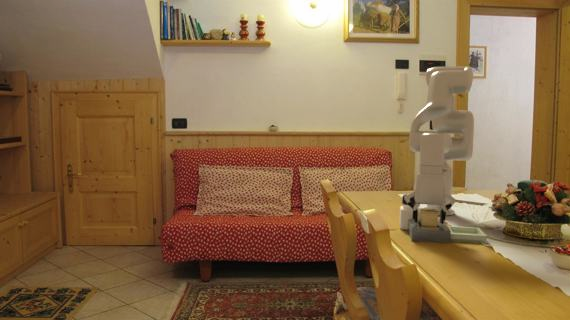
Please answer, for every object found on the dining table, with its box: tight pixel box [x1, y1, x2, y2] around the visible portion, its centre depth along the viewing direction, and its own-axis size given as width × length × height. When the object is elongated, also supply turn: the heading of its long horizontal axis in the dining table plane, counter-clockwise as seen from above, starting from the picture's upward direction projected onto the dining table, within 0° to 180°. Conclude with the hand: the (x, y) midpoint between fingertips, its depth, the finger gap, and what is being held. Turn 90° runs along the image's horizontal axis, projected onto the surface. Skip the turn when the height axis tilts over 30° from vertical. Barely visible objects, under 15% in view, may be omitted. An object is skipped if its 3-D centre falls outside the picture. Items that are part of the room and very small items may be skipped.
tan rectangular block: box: [420, 207, 440, 227], centre depth 159 cm, size 5×5×9 cm
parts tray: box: [447, 225, 488, 244], centre depth 158 cm, size 11×11×2 cm
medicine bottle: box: [398, 193, 421, 231], centre depth 170 cm, size 7×7×12 cm
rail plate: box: [407, 219, 451, 244], centre depth 159 cm, size 14×12×4 cm
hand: (428, 221), depth 159 cm, fingers open, 7 cm apart
